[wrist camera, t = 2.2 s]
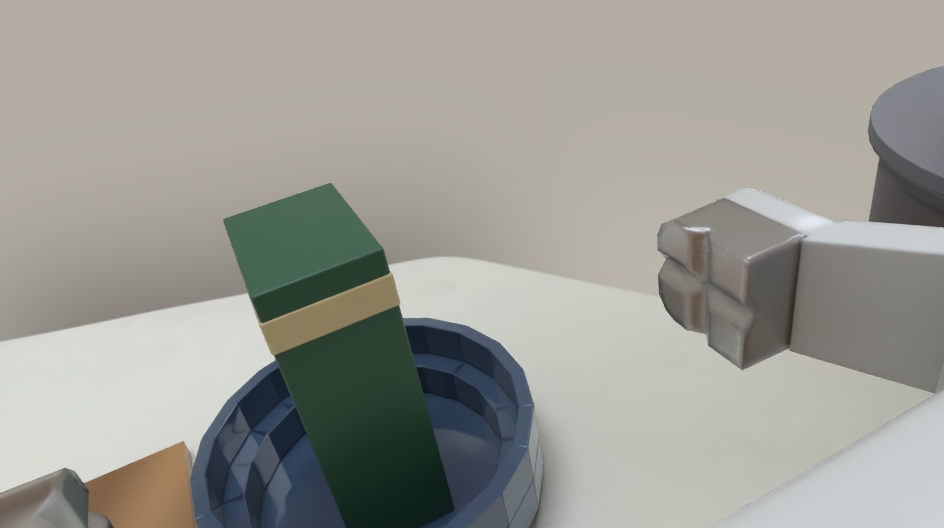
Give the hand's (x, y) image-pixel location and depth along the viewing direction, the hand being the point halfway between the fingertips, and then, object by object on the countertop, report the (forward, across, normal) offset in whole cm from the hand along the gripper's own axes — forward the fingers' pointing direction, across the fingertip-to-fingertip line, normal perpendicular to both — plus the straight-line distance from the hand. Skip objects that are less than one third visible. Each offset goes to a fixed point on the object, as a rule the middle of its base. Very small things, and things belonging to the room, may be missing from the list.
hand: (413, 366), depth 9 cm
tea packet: (+13, 0, +16) cm, 21 cm away
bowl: (+13, 0, +16) cm, 21 cm away
